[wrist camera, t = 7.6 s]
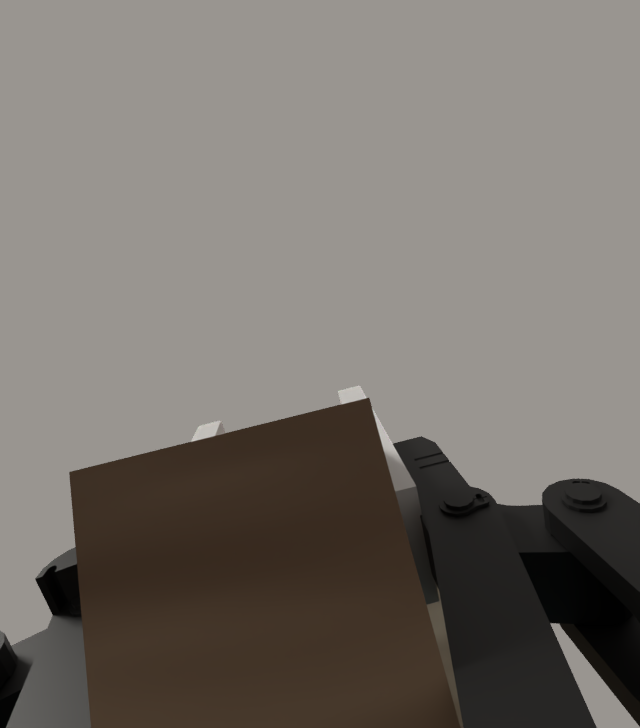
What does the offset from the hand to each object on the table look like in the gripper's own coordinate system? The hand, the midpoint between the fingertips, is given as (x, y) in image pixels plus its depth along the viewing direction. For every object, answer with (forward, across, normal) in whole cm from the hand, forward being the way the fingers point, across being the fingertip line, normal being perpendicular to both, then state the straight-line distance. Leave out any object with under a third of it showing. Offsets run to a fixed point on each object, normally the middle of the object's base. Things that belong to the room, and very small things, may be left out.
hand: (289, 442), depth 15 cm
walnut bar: (+1, 0, -6) cm, 6 cm away
